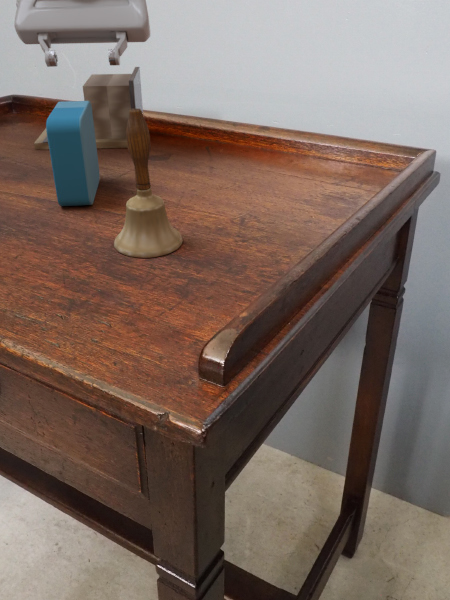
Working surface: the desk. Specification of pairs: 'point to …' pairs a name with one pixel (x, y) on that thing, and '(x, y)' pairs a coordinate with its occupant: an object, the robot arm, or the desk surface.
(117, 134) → the book rack
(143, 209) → the hand bell
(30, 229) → the desk surface
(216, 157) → the desk surface
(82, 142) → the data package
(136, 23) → the robot arm
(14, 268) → the desk surface
